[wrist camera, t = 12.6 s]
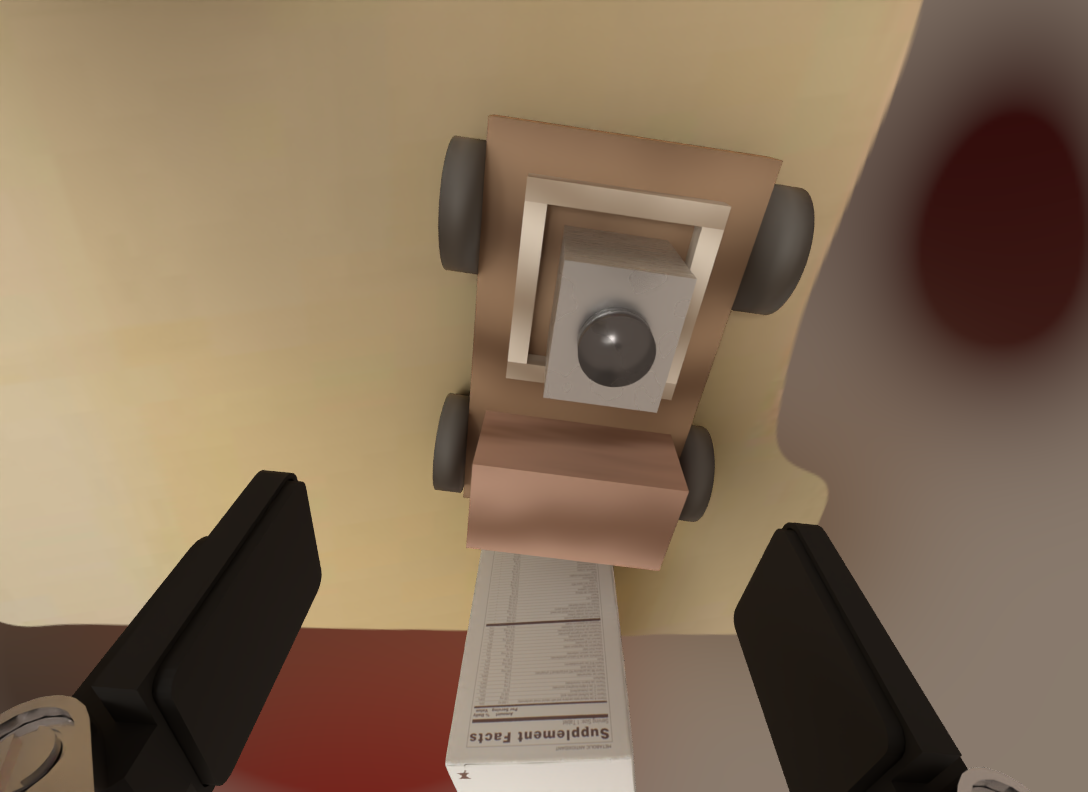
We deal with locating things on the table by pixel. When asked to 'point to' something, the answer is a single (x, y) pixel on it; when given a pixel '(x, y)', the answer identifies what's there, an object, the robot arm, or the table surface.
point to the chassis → (524, 318)
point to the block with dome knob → (615, 319)
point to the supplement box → (542, 681)
